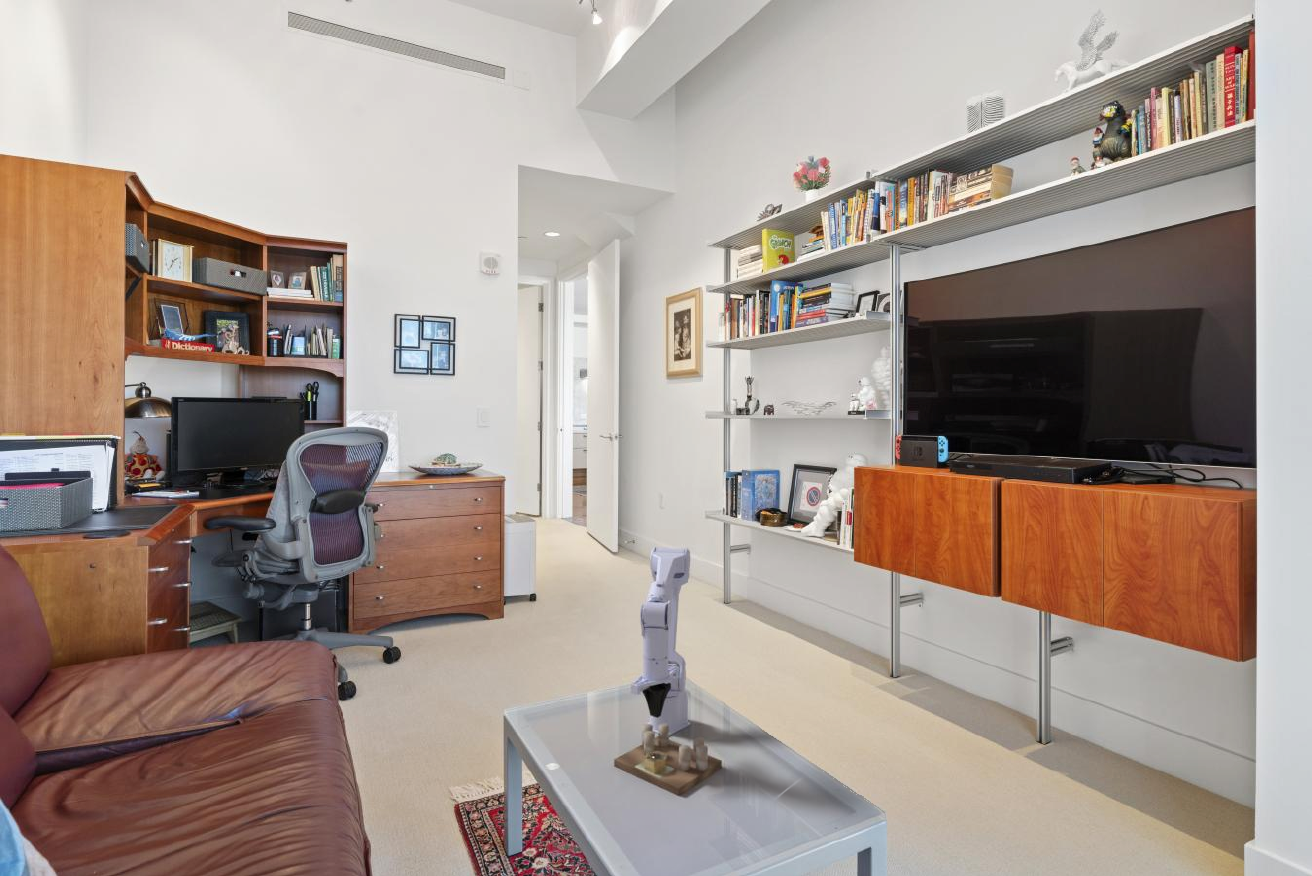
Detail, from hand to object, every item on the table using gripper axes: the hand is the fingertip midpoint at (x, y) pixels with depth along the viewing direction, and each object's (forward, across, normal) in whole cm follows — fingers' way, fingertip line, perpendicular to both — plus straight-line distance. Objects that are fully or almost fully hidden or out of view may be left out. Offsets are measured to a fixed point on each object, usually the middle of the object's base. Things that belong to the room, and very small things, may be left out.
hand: (655, 715), depth 156 cm
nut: (+8, -6, -5) cm, 11 cm away
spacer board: (+9, -2, -5) cm, 11 cm away
